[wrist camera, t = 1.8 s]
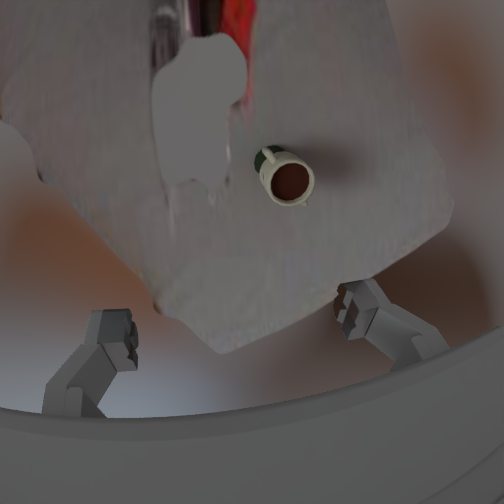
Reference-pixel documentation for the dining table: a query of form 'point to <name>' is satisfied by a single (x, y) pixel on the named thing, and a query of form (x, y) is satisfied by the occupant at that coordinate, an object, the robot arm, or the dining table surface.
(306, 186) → the character mug
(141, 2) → the dining table surface
